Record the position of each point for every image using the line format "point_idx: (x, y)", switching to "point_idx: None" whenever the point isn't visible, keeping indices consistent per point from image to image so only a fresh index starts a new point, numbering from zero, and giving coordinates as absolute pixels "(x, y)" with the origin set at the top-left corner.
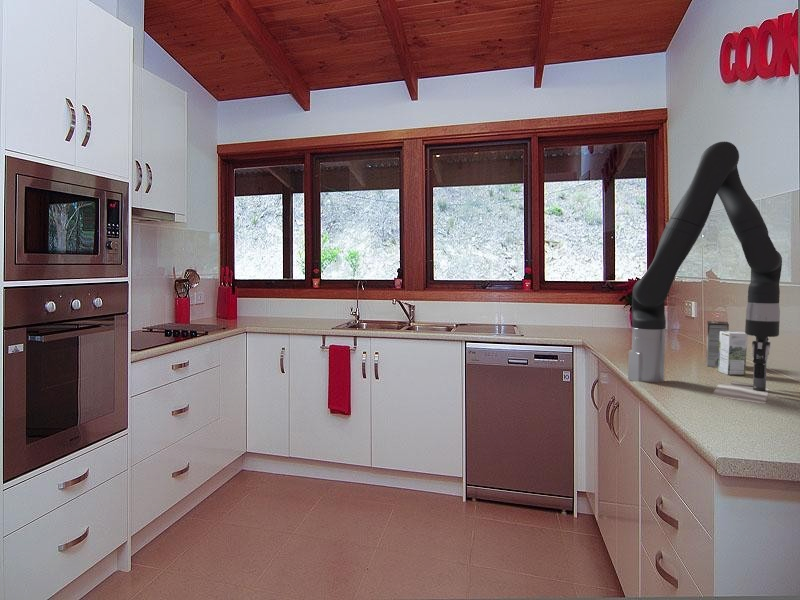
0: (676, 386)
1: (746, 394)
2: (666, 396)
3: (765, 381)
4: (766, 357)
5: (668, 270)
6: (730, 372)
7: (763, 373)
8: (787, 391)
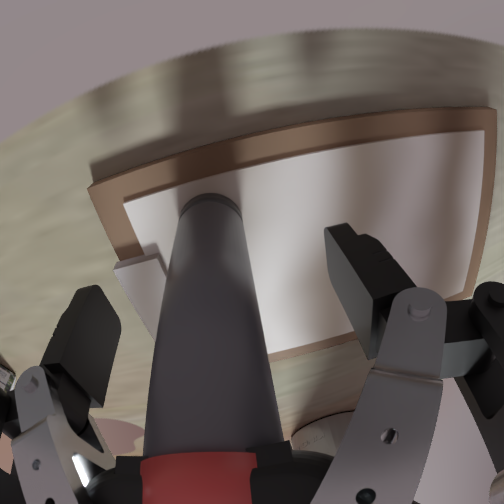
0: (338, 394)
1: (379, 226)
2: None
3: (210, 222)
4: (407, 376)
5: None
6: (6, 377)
7: (360, 245)
8: (24, 154)
